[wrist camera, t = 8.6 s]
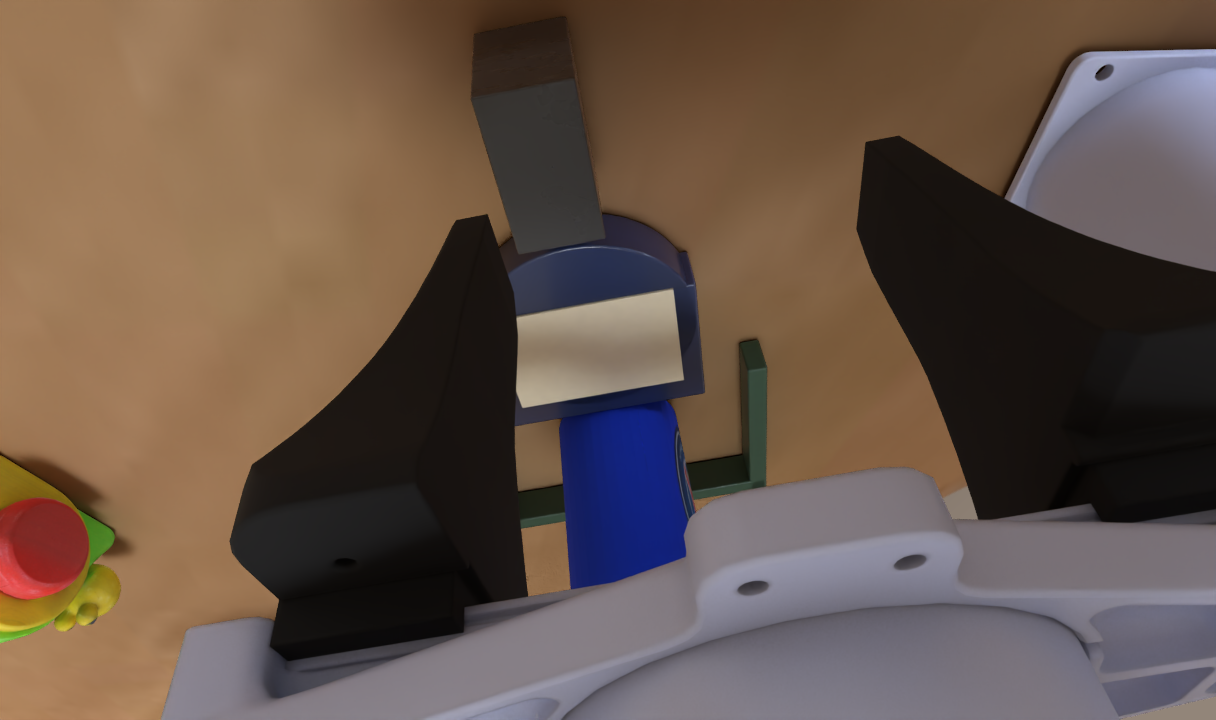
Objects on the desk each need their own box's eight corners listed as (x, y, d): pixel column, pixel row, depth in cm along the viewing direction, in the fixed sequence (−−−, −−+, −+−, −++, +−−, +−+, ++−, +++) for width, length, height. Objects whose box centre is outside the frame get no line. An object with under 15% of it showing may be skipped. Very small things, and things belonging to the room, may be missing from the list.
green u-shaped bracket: (758, 338, 31) (767, 367, 30) (758, 460, 38) (766, 488, 37) (447, 393, 32) (445, 423, 31) (500, 504, 38) (500, 532, 37)
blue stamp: (377, 51, 21) (361, 118, 19) (663, -4, 21) (685, 57, 18) (509, 394, 32) (510, 464, 30) (697, 361, 32) (714, 429, 29)
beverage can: (654, 454, 36) (716, 810, 26) (547, 446, 35) (569, 817, 25) (690, 383, 33) (778, 763, 23) (573, 371, 31) (610, 768, 21)
